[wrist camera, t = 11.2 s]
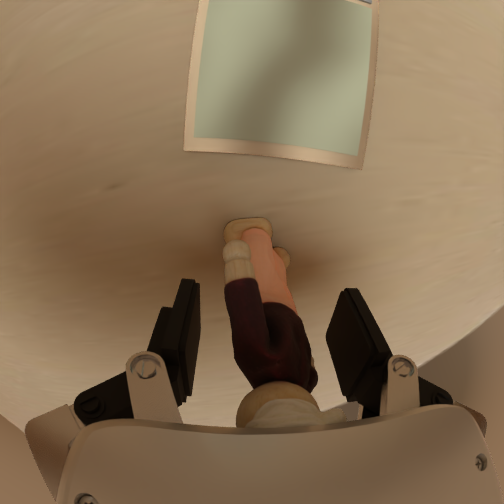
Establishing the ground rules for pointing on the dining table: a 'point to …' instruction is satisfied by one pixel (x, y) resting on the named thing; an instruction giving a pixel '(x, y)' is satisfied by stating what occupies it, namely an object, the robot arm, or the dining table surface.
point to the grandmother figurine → (268, 332)
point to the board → (283, 79)
